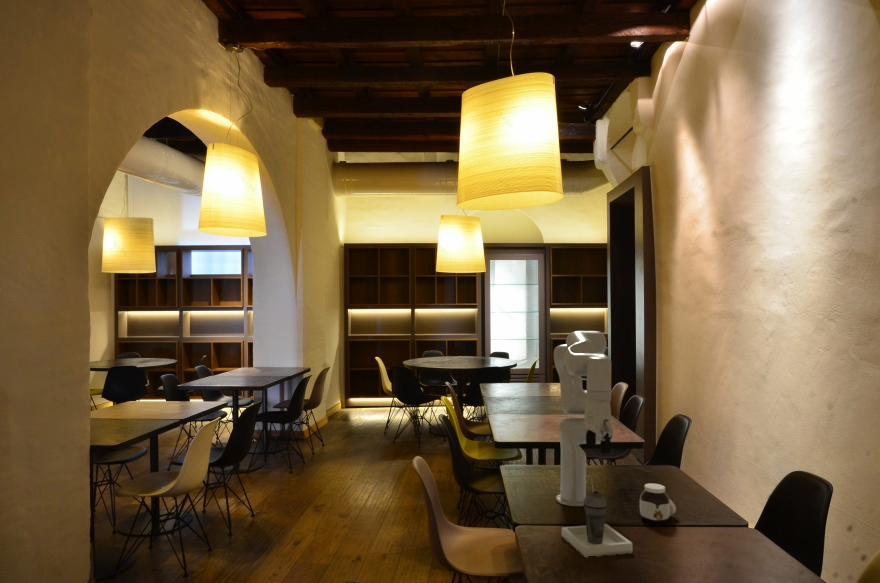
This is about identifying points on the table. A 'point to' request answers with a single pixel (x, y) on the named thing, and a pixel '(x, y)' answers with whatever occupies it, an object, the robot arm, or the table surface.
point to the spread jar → (656, 504)
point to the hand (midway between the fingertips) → (597, 448)
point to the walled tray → (609, 546)
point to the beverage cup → (595, 515)
